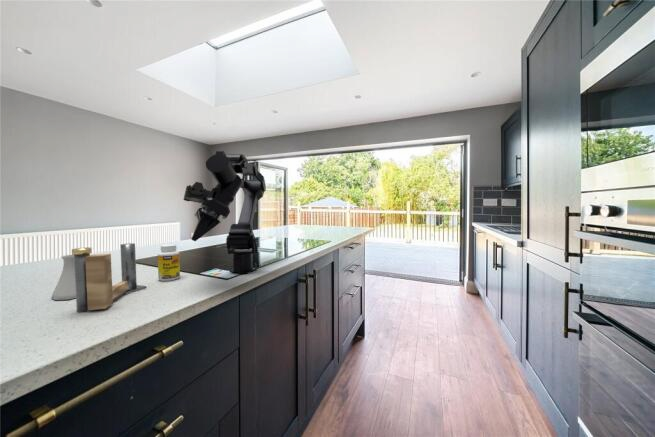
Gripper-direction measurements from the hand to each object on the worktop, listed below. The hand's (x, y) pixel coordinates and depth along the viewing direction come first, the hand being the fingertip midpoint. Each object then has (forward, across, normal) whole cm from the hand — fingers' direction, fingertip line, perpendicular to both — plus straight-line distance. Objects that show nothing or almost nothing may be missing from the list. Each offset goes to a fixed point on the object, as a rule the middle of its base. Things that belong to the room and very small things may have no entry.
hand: (193, 240), depth 67 cm
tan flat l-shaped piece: (+19, -3, -8) cm, 21 cm away
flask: (+23, -14, -15) cm, 31 cm away
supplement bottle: (+12, -17, +1) cm, 21 cm away
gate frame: (+20, -6, -8) cm, 22 cm away
